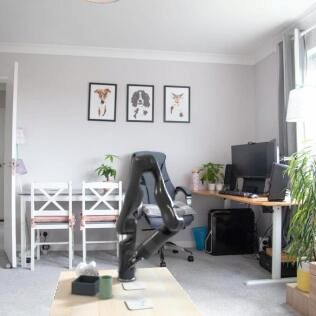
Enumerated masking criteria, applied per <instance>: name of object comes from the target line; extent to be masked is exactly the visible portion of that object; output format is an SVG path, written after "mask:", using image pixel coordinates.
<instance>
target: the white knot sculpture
mask: <svg viewBox="0 0 316 316" xmlns="http://www.w3.org/2000/svg"><path fill="white" fill-rule="evenodd" d="M96 266H97V263H96V262H95V261H93V260H92V261H90V262H89V263H88V264H87V262H84V261H81V262H79V263H78V264H77V266H76V268H75V274H76V278H78V277H79V276H80V275H90V276H100V273H99V271H98V269H97V267H96Z"/></svg>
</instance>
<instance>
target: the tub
mask: <svg viewBox="0 0 316 316" xmlns="http://www.w3.org/2000/svg"><path fill="white" fill-rule="evenodd" d="M100 276H101V275H99V276H90V275H80V276H79V277H76V278H75V279H73V281H71V286H70V295H74V296H75V295H76V296H86V297H95V296H96V295H97V294H99V277H100Z"/></svg>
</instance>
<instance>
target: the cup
mask: <svg viewBox="0 0 316 316" xmlns="http://www.w3.org/2000/svg"><path fill="white" fill-rule="evenodd" d="M99 276H100V277H99V292H98V298H99V299H102V300H109V299H111V298H112V297H113V276H112V275H109V274H108V275H99Z"/></svg>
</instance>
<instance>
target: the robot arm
mask: <svg viewBox="0 0 316 316" xmlns="http://www.w3.org/2000/svg"><path fill="white" fill-rule="evenodd" d="M158 162H159V161H158V160H157V158H156V156H155V155H154V154H152V153H145V154H140V155H136V156H134V157H133V159H132V162H131V167H130V171H129V172H130V173H129V179H128V184H127V188H126V190H125V194H124V197H123V202H122V204H121V205H122V206H121V209H120V212H119V214H118V217H117V219H116V223H115V232H116V234H117V235H119V236H126V237H125V238H124V239H121V240H119V242H118V252H117V253H118V256H117V257H118V258H117V259H118V262H117V263H118V264H117V270H116V271H117V280H118V281H119V282H126V283H128V282H129V283H130V282H133V281H135V280H136V270H137V267H136V265H137V264H139V263H140V262H141V261H143V260H144V261H148V260H149V259H151V258H152V257H153V256H154V255H155V254H156V253H157V252H158V251H159V250H160V249H161V247H162V246H163V245H165V244H166V243H167V242H168V241H169V239H171V238H173V237H174V236H176V235H178V233H180V232H181V231H182V230H183V229H184V227H185V223H186V222H185V219H184V217H183V216H181V215H179V214H177V213H176V211H175V209H174V208H175V203H174V201H173V199H172V197H171V195H170V193H169V191H168V189H167V186H166V184H165V180H164V177H163V174H162V172H161V168H160V165H159V163H158ZM148 174H150V175H151V176H152V178H153V198H154V201H155V203H156V206H157V207H158V209H159V211H160V216H161V219H162V224H163V225H162V226H159V227H158V228H156V229H155V230H154V231H153V232H152V233H150V235H148V236H147V237H146V238H144V240H142V242H141V243H139V244H138V246H136V245H137V233H138V221H137V219H136V217H134V216H132V217H131V215H132V214H133V213H135V212H136V211H137V210H138V209H139V208H140V207H141V205H142V203H143V199H144V197H145V191H144V189H143V187H142V185H141V179H142V176H143V175H148Z"/></svg>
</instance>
